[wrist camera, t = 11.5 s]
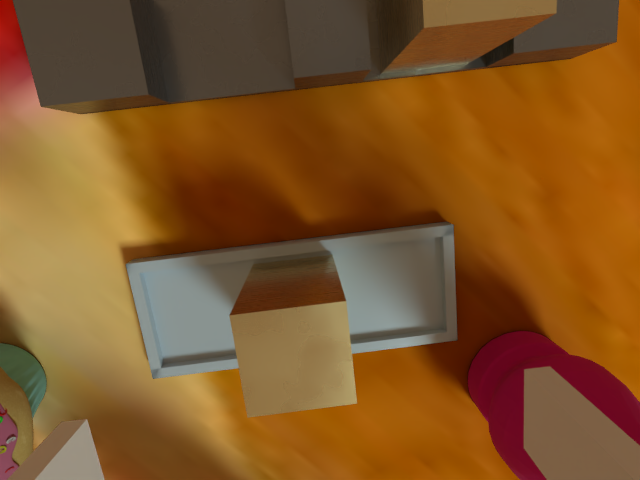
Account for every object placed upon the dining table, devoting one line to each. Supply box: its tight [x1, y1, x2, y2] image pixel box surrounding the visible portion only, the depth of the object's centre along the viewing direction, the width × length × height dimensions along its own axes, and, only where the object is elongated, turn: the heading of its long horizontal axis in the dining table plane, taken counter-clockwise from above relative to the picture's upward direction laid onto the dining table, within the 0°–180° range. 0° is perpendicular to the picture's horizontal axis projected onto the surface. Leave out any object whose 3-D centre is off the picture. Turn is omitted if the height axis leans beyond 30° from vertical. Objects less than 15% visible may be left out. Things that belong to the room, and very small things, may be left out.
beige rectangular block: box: [229, 255, 357, 417], centre depth 18 cm, size 4×4×7 cm
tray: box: [126, 222, 457, 379], centre depth 22 cm, size 18×7×1 cm, turn 97°
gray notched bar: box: [13, 0, 619, 114], centre depth 18 cm, size 26×5×3 cm, turn 97°
